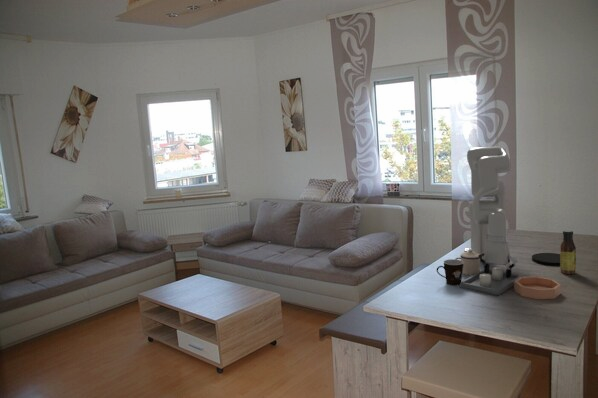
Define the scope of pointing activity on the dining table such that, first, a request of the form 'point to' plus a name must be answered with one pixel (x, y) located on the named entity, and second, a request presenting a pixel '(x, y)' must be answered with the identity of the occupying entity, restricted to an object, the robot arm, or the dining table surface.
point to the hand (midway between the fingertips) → (497, 275)
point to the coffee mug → (452, 271)
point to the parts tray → (496, 286)
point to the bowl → (537, 287)
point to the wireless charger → (547, 259)
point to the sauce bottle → (568, 253)
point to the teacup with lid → (470, 262)
